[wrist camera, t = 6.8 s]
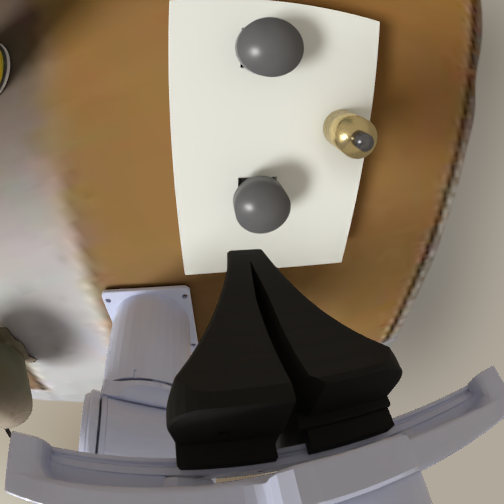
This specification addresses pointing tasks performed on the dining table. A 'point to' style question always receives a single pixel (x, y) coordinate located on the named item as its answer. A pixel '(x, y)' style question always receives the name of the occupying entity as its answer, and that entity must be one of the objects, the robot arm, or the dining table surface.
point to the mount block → (264, 129)
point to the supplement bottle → (4, 66)
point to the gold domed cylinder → (350, 133)
